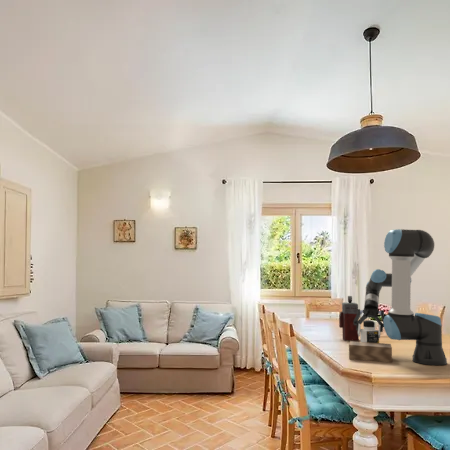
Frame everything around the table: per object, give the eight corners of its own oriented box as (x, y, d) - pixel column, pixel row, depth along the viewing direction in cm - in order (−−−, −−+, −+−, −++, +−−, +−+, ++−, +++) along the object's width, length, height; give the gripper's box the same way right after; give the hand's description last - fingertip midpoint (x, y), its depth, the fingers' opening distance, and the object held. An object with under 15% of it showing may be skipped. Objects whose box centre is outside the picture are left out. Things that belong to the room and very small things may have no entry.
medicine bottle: (367, 344, 226) (366, 321, 227) (360, 342, 233) (359, 319, 234) (379, 344, 227) (378, 321, 229) (372, 342, 234) (371, 319, 236)
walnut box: (390, 357, 220) (390, 343, 221) (392, 362, 208) (391, 347, 209) (350, 354, 226) (349, 341, 227) (349, 359, 215) (348, 344, 216)
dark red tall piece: (338, 338, 284) (338, 295, 287) (356, 338, 283) (355, 295, 286) (340, 340, 276) (340, 295, 279) (358, 340, 274) (358, 296, 277)
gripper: (393, 309, 241) (391, 341, 225) (352, 307, 251) (348, 338, 235) (392, 299, 237) (390, 332, 221) (350, 298, 247) (346, 329, 230)
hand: (368, 335), depth 228 cm, fingers closed on medicine bottle, 10 cm apart
